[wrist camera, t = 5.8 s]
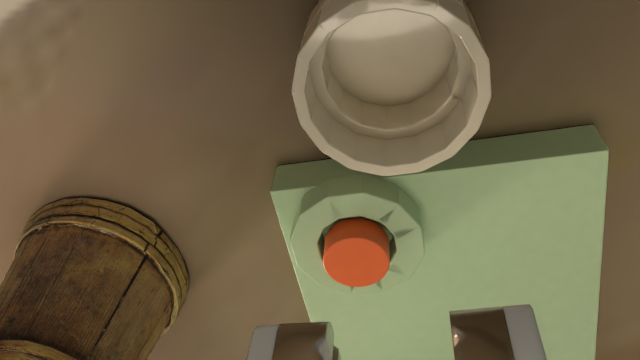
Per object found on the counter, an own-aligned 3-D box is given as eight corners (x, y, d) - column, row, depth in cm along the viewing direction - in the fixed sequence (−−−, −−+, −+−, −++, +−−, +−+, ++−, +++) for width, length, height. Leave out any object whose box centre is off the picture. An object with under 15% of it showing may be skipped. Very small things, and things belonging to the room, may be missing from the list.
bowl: (289, -24, 23) (271, 17, 19) (467, -58, 22) (485, -22, 18) (324, 127, 26) (315, 185, 23) (479, 105, 25) (495, 163, 22)
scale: (274, 159, 28) (262, 204, 25) (594, 116, 25) (621, 161, 22) (340, 381, 37) (336, 433, 34) (581, 366, 34) (600, 422, 31)
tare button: (319, 221, 25) (316, 241, 24) (384, 213, 25) (384, 234, 24) (332, 269, 27) (329, 290, 26) (393, 263, 26) (394, 284, 25)
